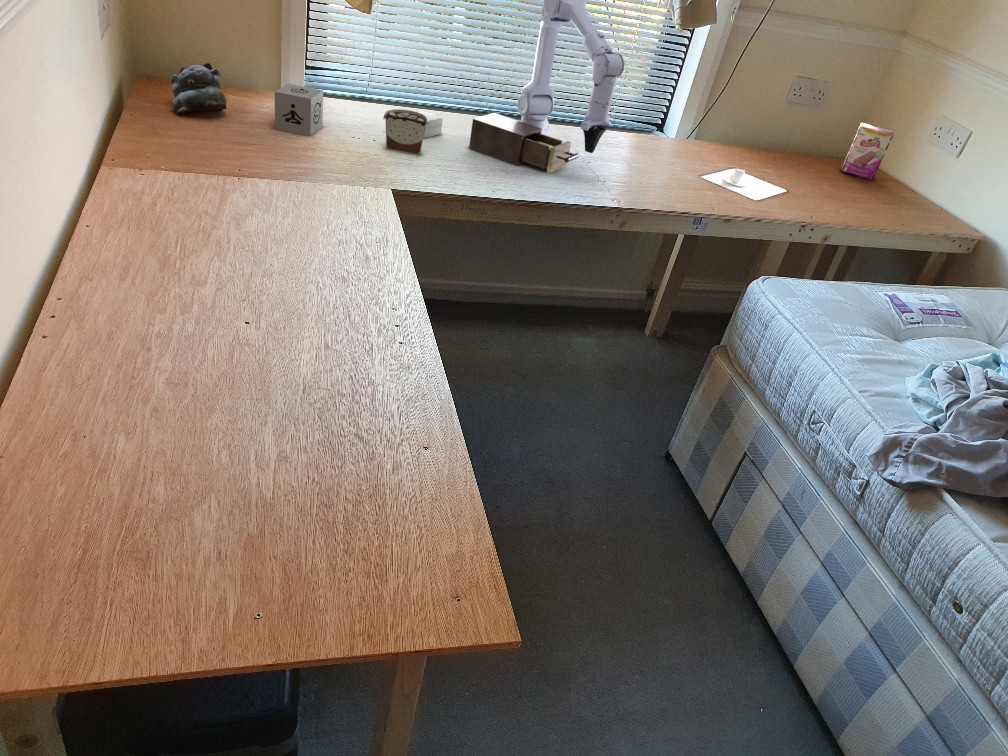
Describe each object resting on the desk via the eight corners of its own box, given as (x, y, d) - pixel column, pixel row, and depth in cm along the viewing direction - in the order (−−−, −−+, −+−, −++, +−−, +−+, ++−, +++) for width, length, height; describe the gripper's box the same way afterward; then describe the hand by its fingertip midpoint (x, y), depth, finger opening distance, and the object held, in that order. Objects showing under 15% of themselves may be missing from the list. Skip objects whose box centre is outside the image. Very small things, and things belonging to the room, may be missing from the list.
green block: (535, 154, 221) (538, 140, 219) (555, 161, 219) (558, 147, 216) (528, 157, 218) (531, 143, 215) (548, 164, 215) (551, 150, 213)
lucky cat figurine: (164, 114, 204) (155, 59, 202) (186, 121, 216) (178, 70, 214) (217, 107, 203) (209, 52, 201) (237, 114, 215) (228, 63, 212)
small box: (421, 126, 232) (423, 109, 229) (441, 134, 229) (443, 117, 226) (404, 130, 226) (406, 113, 224) (424, 138, 223) (426, 120, 220)
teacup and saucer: (732, 176, 241) (736, 163, 239) (753, 185, 237) (758, 172, 234) (717, 180, 235) (721, 167, 233) (739, 189, 231) (744, 176, 229)
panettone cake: (428, 149, 215) (432, 114, 210) (425, 156, 210) (428, 120, 205) (385, 141, 215) (388, 105, 210) (381, 148, 210) (383, 111, 204)
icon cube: (288, 119, 217) (288, 83, 212) (322, 126, 217) (323, 90, 212) (274, 128, 209) (274, 91, 204) (310, 136, 209) (311, 98, 203)
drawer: (578, 169, 219) (583, 146, 216) (562, 177, 212) (567, 153, 208) (520, 149, 226) (524, 126, 222) (503, 156, 218) (506, 132, 214)
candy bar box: (840, 172, 266) (860, 125, 257) (841, 168, 270) (860, 122, 261) (873, 181, 263) (894, 133, 254) (873, 177, 267) (894, 130, 258)
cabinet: (536, 157, 225) (542, 128, 220) (517, 165, 216) (522, 135, 212) (489, 141, 231) (493, 112, 226) (468, 148, 222) (472, 118, 217)
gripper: (602, 109, 196) (591, 161, 203) (624, 101, 207) (612, 150, 214) (578, 102, 198) (567, 153, 205) (601, 94, 209) (590, 143, 216)
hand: (589, 151), depth 210 cm, fingers closed
